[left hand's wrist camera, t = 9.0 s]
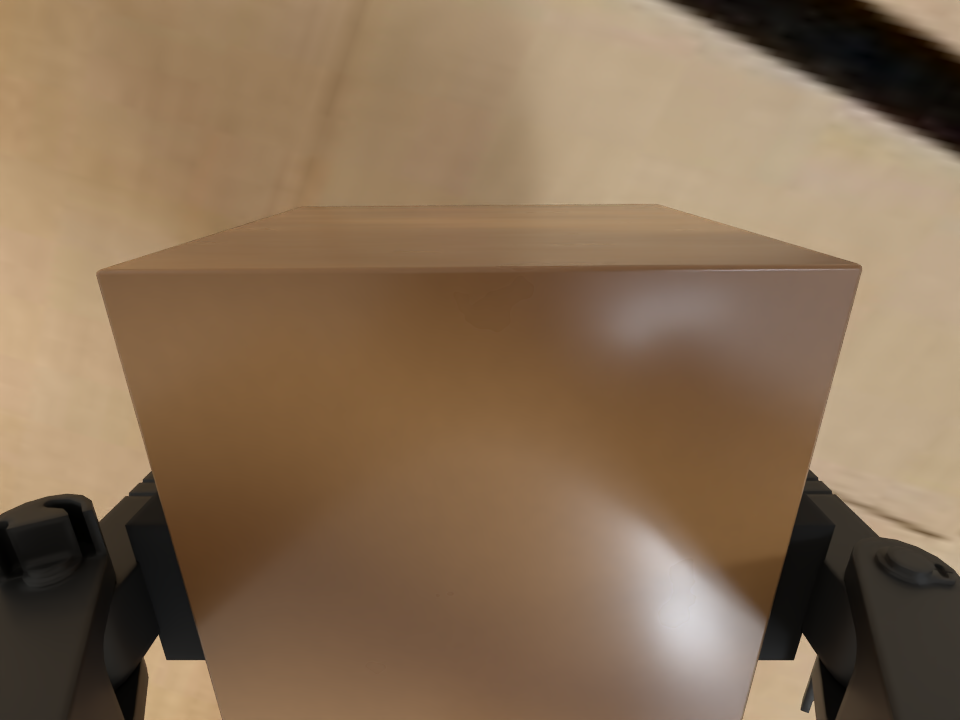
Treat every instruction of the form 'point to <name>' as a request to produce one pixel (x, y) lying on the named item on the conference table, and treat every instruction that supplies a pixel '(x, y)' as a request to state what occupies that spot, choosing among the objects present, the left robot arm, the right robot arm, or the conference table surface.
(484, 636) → the brown wooden bar
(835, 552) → the left robot arm
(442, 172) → the conference table surface
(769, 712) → the conference table surface
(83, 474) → the conference table surface
